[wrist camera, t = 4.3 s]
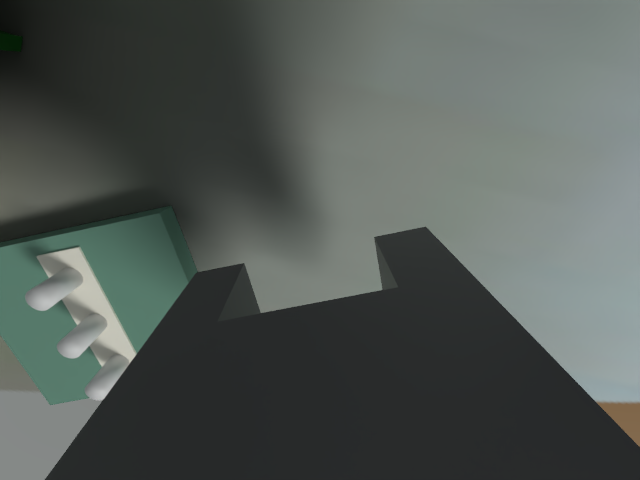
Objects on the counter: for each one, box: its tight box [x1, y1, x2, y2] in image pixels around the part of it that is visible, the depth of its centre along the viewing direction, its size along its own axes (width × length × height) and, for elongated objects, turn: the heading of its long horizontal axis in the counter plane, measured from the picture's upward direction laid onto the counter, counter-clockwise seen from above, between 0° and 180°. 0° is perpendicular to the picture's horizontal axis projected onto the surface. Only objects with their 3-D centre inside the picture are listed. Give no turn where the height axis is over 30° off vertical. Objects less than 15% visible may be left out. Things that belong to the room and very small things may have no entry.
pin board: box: [0, 206, 198, 405], centre depth 15 cm, size 10×9×3 cm
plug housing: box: [45, 227, 640, 480], centre depth 7 cm, size 6×8×6 cm
